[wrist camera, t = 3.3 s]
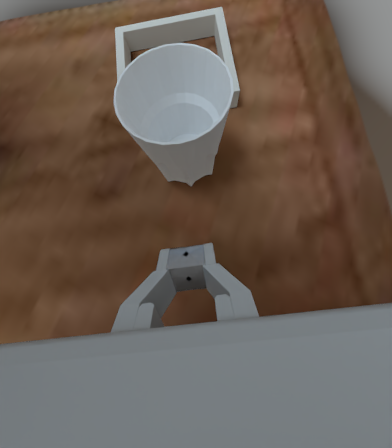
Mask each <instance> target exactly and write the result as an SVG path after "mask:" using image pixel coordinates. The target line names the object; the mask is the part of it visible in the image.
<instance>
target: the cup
mask: <svg viewBox="0 0 392 448" xmlns="http://www.w3.org/2000/svg"><path fill="white" fill-rule="evenodd" d="M233 93H234V90H233V78H232V76H231V73H230V71H229V68H228V66H227V65H226V64H225V63H224V62H223V60H222V59H221V58H220V57H219V56H218V55H216V54H215V53H213V52H212V51H210V50H209V49H206V48H204V47H201V46H198V45H195V44H186V43H174V44H165V45H162V46H159V47H155V48H152V49H150V50H148V51H146V52H145V53H143V54H141V55H139V56H138V57H137V58H136V59H134V60H133V61H132V62H131V63H130V64H129V65H128V66H127V67H126V68H125V70H124V71H123V72H122V74H121V75H120V77H119V79H118V82H117V84H116V87H115V90H114V101H113V102H114V107H115V112H116V115H117V117H118V119H119V120H120V122H121V124H122V125H123V127H124V128H125V129H126V130H127V132H128V133H129V134H130V135H131V136H132V138H133V139H134V140H135V141H136V142H137V143H138V145H139V146H140V147H141V148H142V149H143V151H144V152H145V153H146V154H147V155H148V156H149V158H150V159H151V160H152V161H153V162H154V163H155V164H156V166H157V167H158V168H159V170H160V171H161V173H162V174H163V175H164V177H165V178H166V179H167V181H168V182H170V181H180V182H184V183H187V184H188V185H190V186H192V185H193V184H194V182H195V181H197V180H198V179H200V178H202V177H203V176H205V175H211V174H212V171H213V166H214V160H215V155H216V154H217V153H218V147H219V143H220V141H221V137H222V134H223V130H224V126H225V123H226V119H227V116H228V112H229V109H230V105H231V101H232V97H233Z"/></svg>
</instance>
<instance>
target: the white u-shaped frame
mask: <svg viewBox="0 0 392 448" xmlns="http://www.w3.org/2000/svg"><path fill="white" fill-rule="evenodd" d="M211 36H215V41H216V46H217V51H218V56H219V57H220V58H221V59H222V60H223V62H224V63H225V64H226V65H227V66H228V68H229V71H230V73H231V76H232V78H233V90H234V93H233V97H232V101H231V105H230V108H234V107H237V103H238V98H239V93H240V89H239V84H238V79H237V75H236V70H235V65H234V61H233V56H232V51H231V47H230V42H229V37H228V33H227V28H226V23H225V19H224V14H223V9H222V7H218V8H213V9H208V10H203V11H198V12H193V13H188V14H183V15H178V16H173V17H168V18H162V19H157V20H152V21H147V22H142V23H137V24H132V25H127V26H122V27H117V28H115V37H116V60H117V82H118V79H119V77H120V75H121V74H122V72H123V71H124V70H125V68H126V67H127V66H128V65H129V64H130V63H131V52H132V51H137V50H142V49H148V48H153V47H158V46H162V45H165V44H174V43H179V42H184V41H190V40H195V39H200V38H206V37H211Z"/></svg>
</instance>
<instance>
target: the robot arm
mask: <svg viewBox="0 0 392 448" xmlns="http://www.w3.org/2000/svg"><path fill="white" fill-rule="evenodd" d="M205 288H207V290H208V291H209V293H210V294H211V295H212V297H213V298H214V299H215V305H216V314H217V321H215V322H206V323H196V324H187V325H177V326H168V327H165V326H164V324H163V322H162V320H161V317H162V316H163V314H164V312H165V311H166V309H167V308H168V306H169V304H170V303H171V301H172V299H173V298H174V296H175V295H176V292H179V291H186V290H194V289H205ZM0 448H392V303H385V304H375V305H366V306H356V307H347V308H338V309H328V310H319V311H309V312H300V313H290V314H281V315H271V316H262V317H259V314H258V312H257V309H256V306H255V303H254V300H253V297H252V294H251V291H250V290H249V289H248V288H247V287H245V286H244V285H243V284H242V283H241V282H240V281H239V280H237V279H236V278H235V277H234V276H233V275H232V274H230V273H229V272H228V271H227V270H226V269H225V268H224V267H222V266H221V265H220V264H219V263H218V264H216V260H215V254H214V249H213V244H212V243H207V244H204V245H203V244H202V245H195V246H187V247H178V248H170V249H161V251H160V254H159V259H158V263H157V268H156V271H153V272H152V273H151V274H150V275H149V276H148V277H147V278H146V279H145V281H144V282H143V283H142V284H141V285H140V286H139V287H138V288H137V289H136V290H135V291H134V292H133V293H132V294H131V295H130V296H129V297H128V298H127V299H126V300H125V301H124V302H123V303H122V304H121V305H120V308H119V311H118V314H117V316H116V319H115V322H114V325H113V328H112V330H111V333H102V334H92V335H83V336H73V337H64V338H54V339H45V340H35V341H26V342H16V343H7V344H0Z"/></svg>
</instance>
